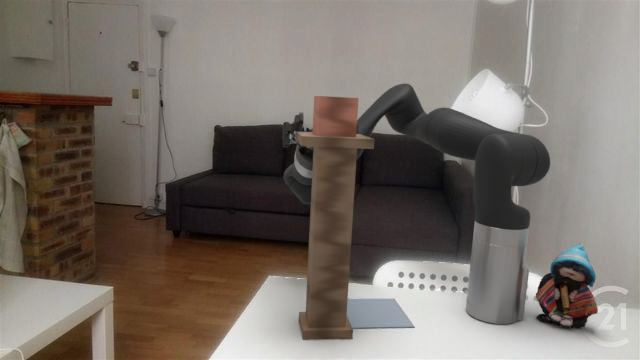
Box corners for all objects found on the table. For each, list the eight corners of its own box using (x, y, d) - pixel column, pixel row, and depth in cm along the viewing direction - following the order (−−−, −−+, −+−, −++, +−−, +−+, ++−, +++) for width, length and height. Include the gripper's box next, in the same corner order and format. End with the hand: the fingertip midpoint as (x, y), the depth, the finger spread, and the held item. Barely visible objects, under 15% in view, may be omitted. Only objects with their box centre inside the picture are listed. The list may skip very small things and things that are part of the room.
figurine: (531, 326, 87) (541, 244, 85) (533, 311, 93) (543, 235, 91) (595, 340, 83) (608, 254, 80) (593, 324, 89) (605, 244, 87)
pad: (394, 299, 96) (394, 298, 96) (414, 327, 84) (414, 326, 84) (338, 299, 94) (338, 298, 94) (351, 328, 83) (351, 327, 83)
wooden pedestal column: (348, 310, 90) (360, 134, 85) (361, 338, 79) (375, 139, 74) (288, 311, 88) (296, 131, 83) (293, 339, 78) (302, 136, 73)
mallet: (336, 130, 93) (338, 97, 92) (356, 137, 77) (358, 98, 76) (304, 128, 92) (306, 96, 91) (317, 135, 76) (319, 96, 75)
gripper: (279, 136, 103) (285, 97, 88) (346, 139, 105) (363, 101, 90) (278, 170, 100) (285, 135, 85) (348, 172, 102) (366, 138, 87)
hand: (325, 117), depth 87 cm, fingers open, 8 cm apart
